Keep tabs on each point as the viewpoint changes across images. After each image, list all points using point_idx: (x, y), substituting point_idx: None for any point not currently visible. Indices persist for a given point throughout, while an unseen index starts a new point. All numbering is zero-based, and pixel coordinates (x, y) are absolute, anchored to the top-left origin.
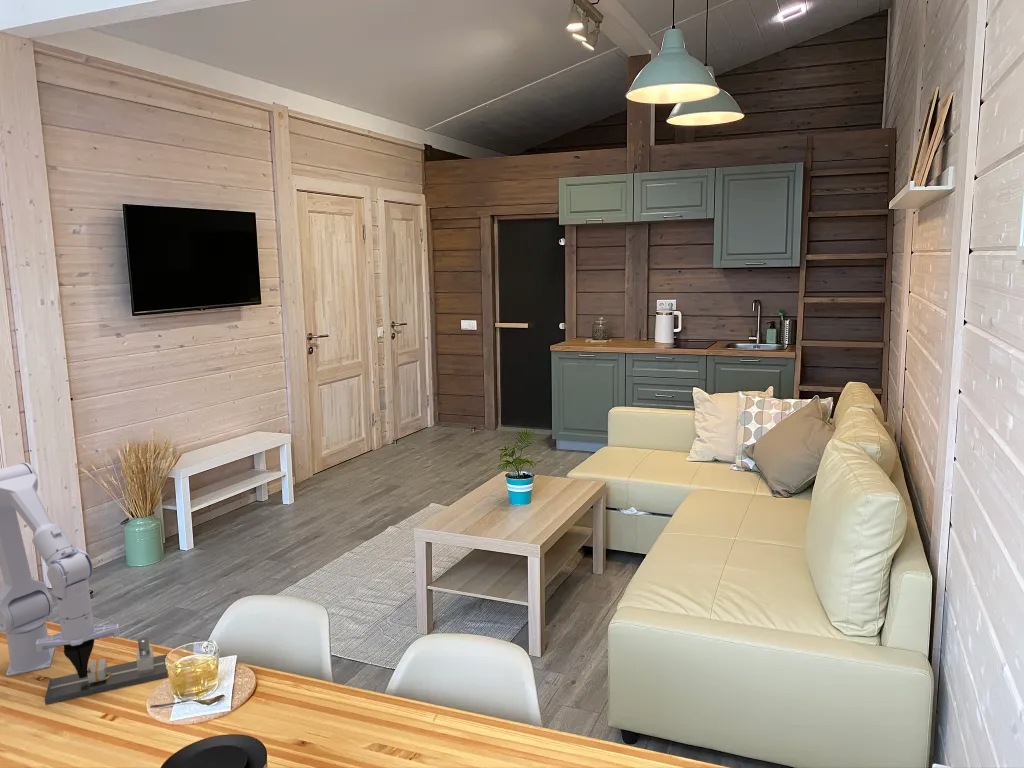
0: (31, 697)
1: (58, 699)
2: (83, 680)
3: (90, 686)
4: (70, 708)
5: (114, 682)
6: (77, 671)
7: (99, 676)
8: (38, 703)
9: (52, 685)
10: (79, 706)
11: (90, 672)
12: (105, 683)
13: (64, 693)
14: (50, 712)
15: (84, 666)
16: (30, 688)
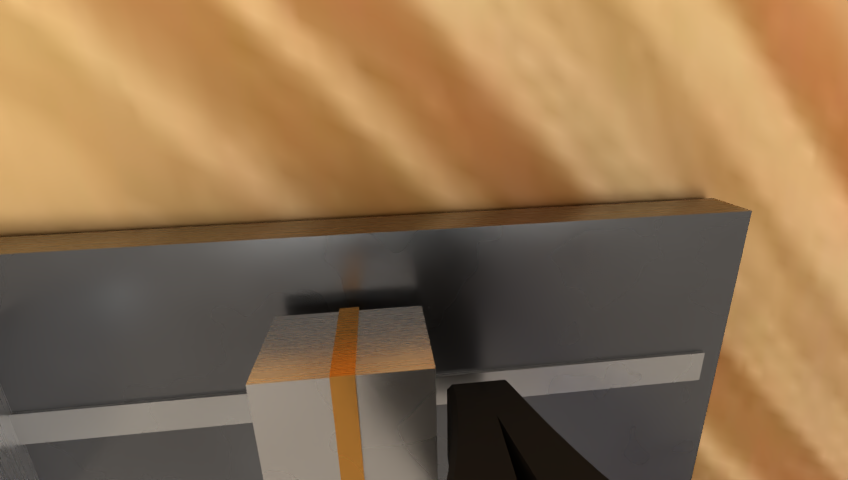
0: (770, 347)
1: (638, 206)
2: None
3: (405, 275)
4: (541, 61)
5: (191, 265)
6: (547, 423)
7: (318, 337)
8: (743, 251)
9: (681, 398)
10: (472, 61)
11: (404, 376)
12: (276, 278)
13: (607, 240)
14: (683, 68)
15: (480, 467)
16: (761, 450)
